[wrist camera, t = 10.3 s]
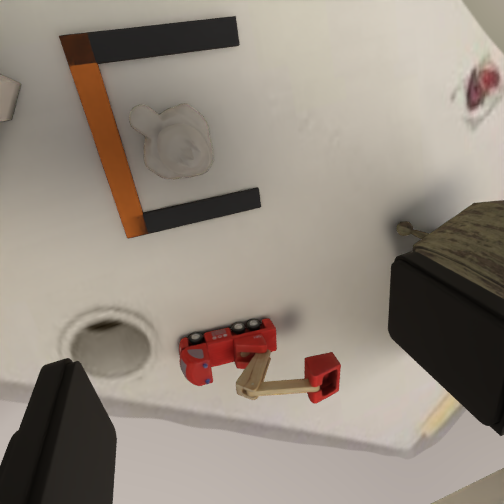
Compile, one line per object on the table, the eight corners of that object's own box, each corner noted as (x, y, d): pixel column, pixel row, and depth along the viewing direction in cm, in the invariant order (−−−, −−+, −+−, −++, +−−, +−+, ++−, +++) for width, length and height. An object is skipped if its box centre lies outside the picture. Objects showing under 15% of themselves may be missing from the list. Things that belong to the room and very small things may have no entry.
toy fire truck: (175, 335, 34) (185, 413, 25) (299, 307, 37) (346, 368, 28) (180, 360, 35) (191, 442, 27) (299, 331, 38) (343, 396, 30)
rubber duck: (186, 189, 28) (200, 217, 21) (113, 140, 25) (101, 154, 18) (223, 135, 27) (251, 146, 20) (152, 78, 24) (155, 67, 17)
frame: (60, 36, 22) (58, 35, 21) (234, 17, 24) (235, 16, 24) (127, 237, 28) (127, 238, 28) (259, 206, 31) (261, 207, 30)
